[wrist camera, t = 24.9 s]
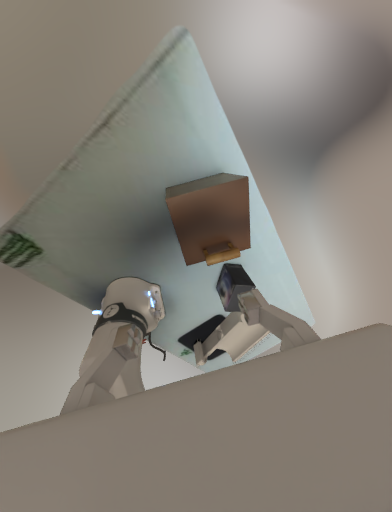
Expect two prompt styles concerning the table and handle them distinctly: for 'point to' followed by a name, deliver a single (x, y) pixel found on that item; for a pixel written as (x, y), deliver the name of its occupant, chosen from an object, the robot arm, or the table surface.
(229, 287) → the small box
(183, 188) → the storage box
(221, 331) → the skate ramp
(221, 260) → the box lid
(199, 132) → the table surface
